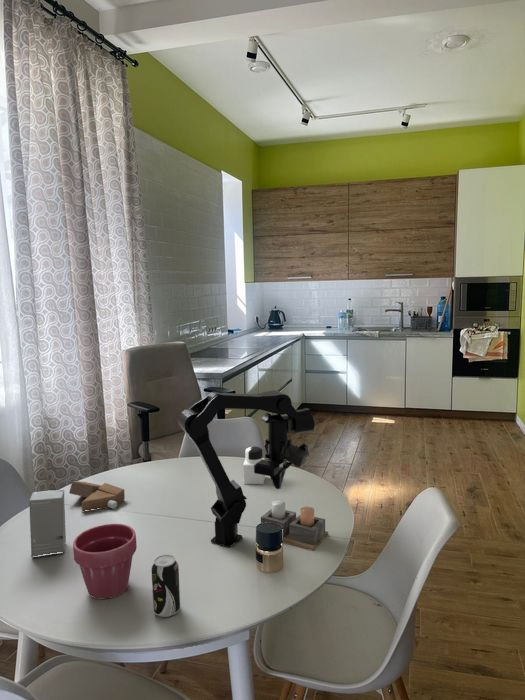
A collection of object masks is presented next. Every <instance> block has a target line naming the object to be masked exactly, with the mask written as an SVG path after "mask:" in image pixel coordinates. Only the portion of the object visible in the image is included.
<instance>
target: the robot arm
mask: <svg viewBox="0 0 525 700" xmlns="http://www.w3.org/2000/svg"><path fill="white" fill-rule="evenodd" d="M222 409H230V410H231V409H232V410H233V409H234V410H235V409H237V410H240V409H241V410H261V411H264V412H265V414H264V415H263V416H261V418H260V420H261V421H262V422H264V423H265V424H267V430H268V431H267V439H265V442H264V443H265V444H266V445H267V448H268V449H267V450H268V451H267V453H265V455H264V456H265V460H263V459H262V460H261V461H259V462H258V463H256V464H255V465H254V473H256V474H261V475H265V476H267V477H270V479H271V482H272V483H273V486H274V488H275V490H280V489H282V484H283V481H284V477H285V475H286V471H287V470H288V469H289V468H290V467H291V466H292V465H294V466H295V467H296V468H301V467H302V465H305V463H306V460H307V458H308V457H309V456H310V452H309V446H308V445H307V444H306V443H302V444H300V445H298V444H296V445H294V444H293V440H292V438H290V437H289V432H291V434H293V435H296V434H298V435H299V434H303V433H304V434H305V433H311V432H313V431H314V430H315V425H316V424H315V420H314V417H313V415H312V412H311V411H312V409H310V408H307V407H305V408H302V409H295V407H294V406H293V405H292V400H291V397H290V395H288V394H286V393H284V392H281V391H279V390H268V391H267V390H266V391H263V392H261V393H238V392H237V393H235V392H234V393H233V392H218V391H211V392H210V393H208V394H207V395H206V396H205V397H203V398H202V399H201V400H199V401H197V402H195V403H194V404H193V405H191V406H190V407H189V408H186V409H184V410H183V411H182V412H181V413H180V414H179V415H178V418H177V423H178V425H179V427H180V428H181V429H182V431H183V432H184V433H185V435H186V436H187V437H188V438H189V439H190V440H191V442H192V443H193V444H194V446H195V448H196V450H197V452H198V454H199V455H200V458H201V459H202V462H203V464H204V465H205V468H206V469H207V472H208V474H209V476H210V477H211V480H212V482H213V483H214V486H215V493H216V496H217V499H216V501H215V502H214V504H213V505H212V506H211V507H210V510H211V512H212V515H213V516H215V521H214V537H212V538H211V539H210V542H211V543H213V544H217V545H220V546H224V547H227V548H231V547H232V546H234V545H235V544H236V543H237V542H238V541H239V540H241V539H243V535H241V534H239V533H238V529H239V528H238V524H240V522H241V518H242V515H243V513H244V511H245V510H246V508H247V501H246V500H247V499H248V498H247V496H245V495H244V492H243V489H242V487H241V486H240V485H239V484H238V482H236V481H235V480H234V479H232V480H230V478H229V476H228V474H227V472H226V470H225V468H224V467H223V464H222V463H221V460H220V459H219V456H218V454H217V452H216V450H215V448H214V447H213V444H212V443H211V439H210V432H209V427H208V425H209V424H210V423H211V422H212V421H213V420H214V418H215V417H216V416H217V414H218V413H219V412H220V410H222ZM271 413H272V414H271ZM267 459H268V460H267Z"/></svg>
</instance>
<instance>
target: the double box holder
mask: <svg viewBox="0 0 525 700" xmlns="http://www.w3.org/2000/svg"><path fill="white" fill-rule="evenodd" d="M265 522H271V523H277V524H279V525H281V526H282V529H283V544H286V545H290V546H294V547H298V548H302V549H306V550H309V551H313V552H314V551H315V549H316V548H317V547H318V546H319V545H320V544H321V543H322V542H323V540H324V539H326V537H328V535H329V531H326V518H321V517H318V516H314V526H313V527H312V528H311V527H307V526H303V525H301V524H300V514H298V515H297V512H295V511H291V510H286V509H285V518H284V519H283V520H278V519H274V518H272V508H271V509H269V510H268V511H267V512H265V513H264V514H263V515H262V516H260V524H261V523H265Z"/></svg>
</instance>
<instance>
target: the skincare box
mask: <svg viewBox="0 0 525 700" xmlns="http://www.w3.org/2000/svg"><path fill="white" fill-rule="evenodd" d="M28 502H29V525H30V526H29V528H30V553H31V554H30V556H31V557H32V556H38V555H43V554H50V553H57V552H63V551H64V552H65V550H64V549H65V548H66V545H65V543H67V536H66V534H67V533H66V511H65V510H66V508H65V489H59V490H58V489H56V490H52V489H51V490H49V489H48V490H45V491H34V492H32V493H31V495H30V499H29V501H28Z"/></svg>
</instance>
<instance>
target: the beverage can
mask: <svg viewBox="0 0 525 700" xmlns="http://www.w3.org/2000/svg"><path fill="white" fill-rule="evenodd" d="M179 571H180V570H179V563H178V561H177V560H176V557H175V556H174V555H171V554H162V555H159V556H157V557H156V558H155V559H154V560H153V564H152V566H151V583H152V588H151V589H152V603H153V605H152V606H153V607H152V608H153V612H154V614H155V615H157V616H158V617H162V618H168V617H169V618H170V617H172V616H174V615H175V614H177V613H178V612H179V611H180V610H181V593H180V592H181V591H180V572H179Z"/></svg>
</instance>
